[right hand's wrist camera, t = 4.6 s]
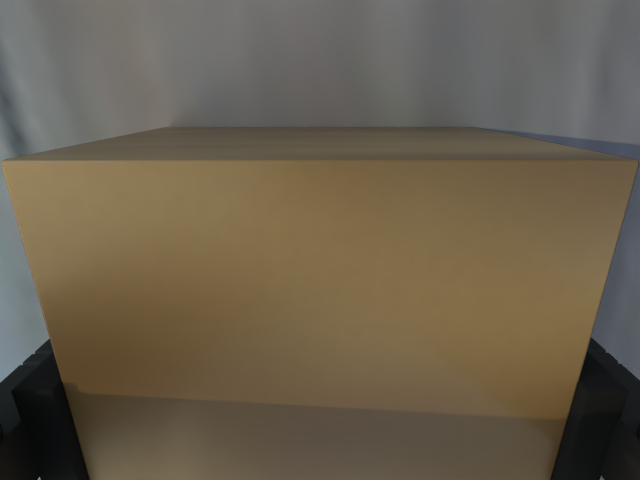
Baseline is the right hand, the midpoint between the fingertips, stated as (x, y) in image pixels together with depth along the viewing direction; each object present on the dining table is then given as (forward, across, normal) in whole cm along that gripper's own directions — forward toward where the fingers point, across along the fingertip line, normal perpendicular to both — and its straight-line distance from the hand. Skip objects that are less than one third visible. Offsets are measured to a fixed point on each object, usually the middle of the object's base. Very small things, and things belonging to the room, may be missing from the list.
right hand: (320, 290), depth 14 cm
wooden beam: (+1, 0, -34) cm, 34 cm away
